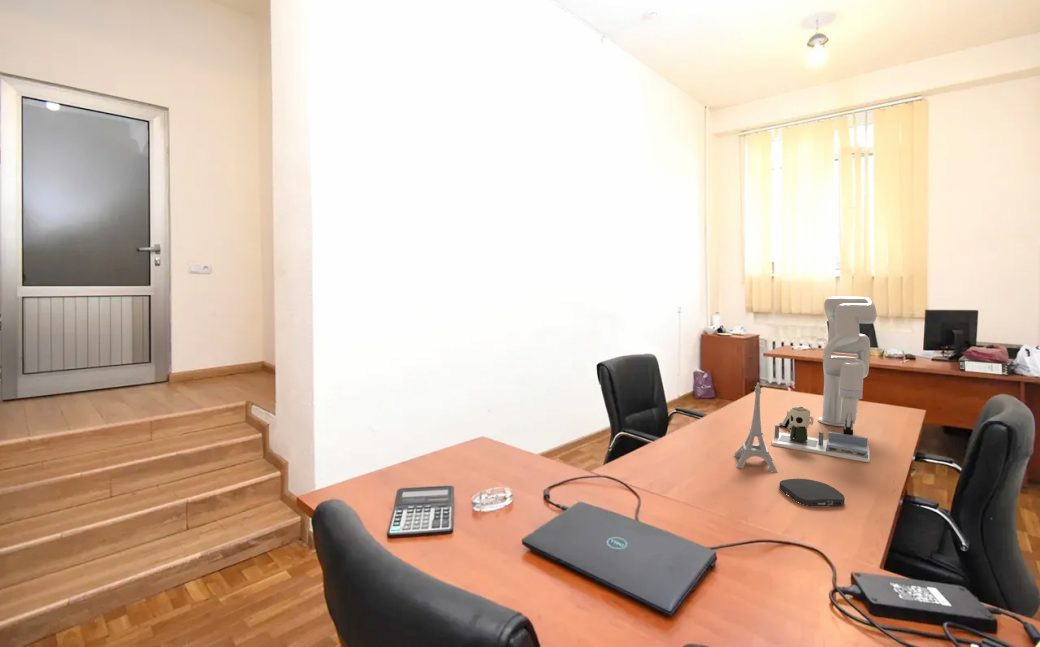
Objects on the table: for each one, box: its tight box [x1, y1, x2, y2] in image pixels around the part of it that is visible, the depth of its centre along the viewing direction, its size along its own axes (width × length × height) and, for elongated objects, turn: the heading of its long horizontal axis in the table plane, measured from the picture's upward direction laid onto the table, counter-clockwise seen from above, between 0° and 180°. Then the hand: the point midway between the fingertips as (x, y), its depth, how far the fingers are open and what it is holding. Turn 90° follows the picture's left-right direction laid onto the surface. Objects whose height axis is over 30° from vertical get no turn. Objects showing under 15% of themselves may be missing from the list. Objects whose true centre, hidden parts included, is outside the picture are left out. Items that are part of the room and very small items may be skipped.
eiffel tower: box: [733, 382, 779, 473], centre depth 172 cm, size 13×13×30 cm
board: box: [771, 424, 870, 463], centre depth 190 cm, size 16×32×6 cm, turn 54°
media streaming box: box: [778, 478, 845, 507], centre depth 147 cm, size 15×15×3 cm
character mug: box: [786, 406, 815, 442], centre depth 194 cm, size 11×7×13 cm, turn 28°
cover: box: [827, 431, 869, 454], centre depth 182 cm, size 8×12×4 cm, turn 54°
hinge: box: [778, 405, 807, 430], centre depth 220 cm, size 17×5×10 cm, turn 130°
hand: (847, 439), depth 187 cm, fingers closed
